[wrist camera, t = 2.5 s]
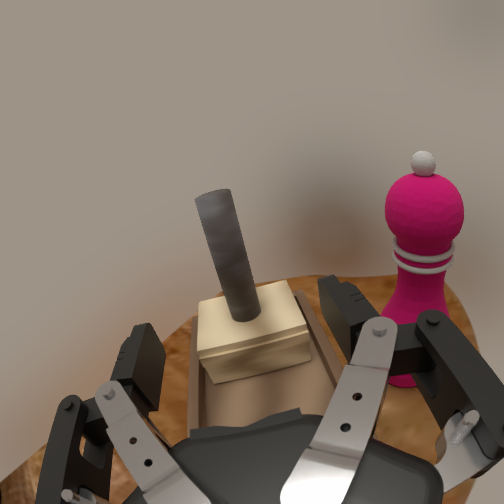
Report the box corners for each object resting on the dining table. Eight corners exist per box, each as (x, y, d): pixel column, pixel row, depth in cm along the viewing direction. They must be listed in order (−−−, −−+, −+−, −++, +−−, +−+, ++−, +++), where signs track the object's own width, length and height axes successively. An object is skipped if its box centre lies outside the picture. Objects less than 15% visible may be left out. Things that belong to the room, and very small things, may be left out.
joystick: (213, 386, 26) (142, 228, 18) (211, 334, 33) (162, 200, 26) (312, 362, 26) (285, 189, 19) (292, 313, 33) (264, 173, 26)
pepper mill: (427, 400, 19) (475, 165, 10) (360, 380, 23) (355, 159, 15) (445, 346, 23) (470, 147, 15) (387, 332, 28) (385, 143, 19)
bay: (203, 517, 14) (188, 510, 12) (200, 334, 35) (192, 317, 34) (382, 476, 14) (389, 465, 13) (304, 307, 36) (301, 289, 34)
